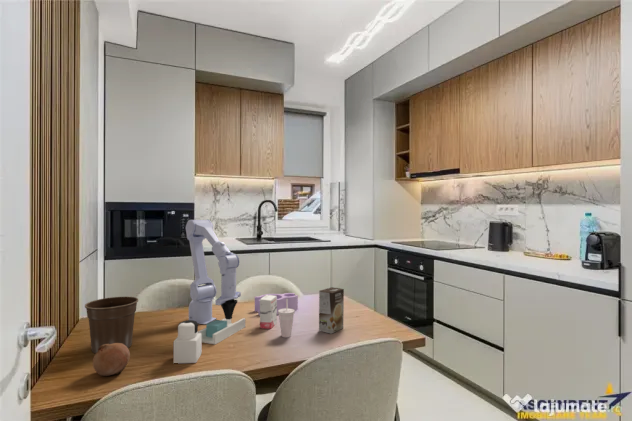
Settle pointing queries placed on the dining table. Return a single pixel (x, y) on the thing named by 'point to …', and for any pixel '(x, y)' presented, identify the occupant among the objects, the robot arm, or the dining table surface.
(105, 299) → the plant pot
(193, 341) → the medicine bottle
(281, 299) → the purple cup holder
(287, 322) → the smoothie
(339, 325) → the coffee box
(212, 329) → the block
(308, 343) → the dining table surface
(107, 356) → the brown rounded lump
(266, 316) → the ink box
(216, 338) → the chute
